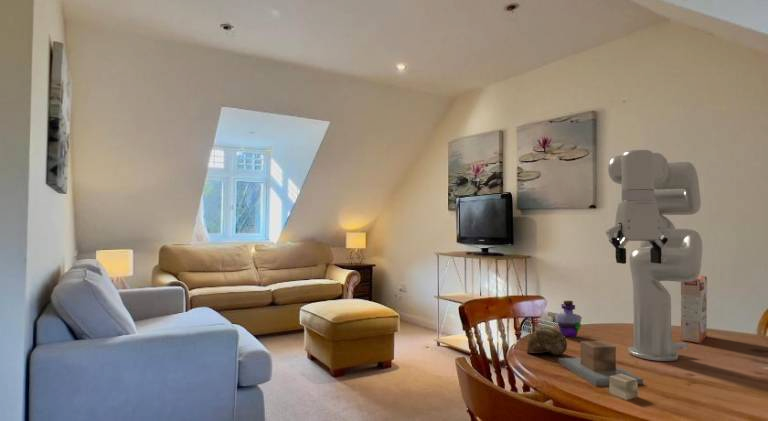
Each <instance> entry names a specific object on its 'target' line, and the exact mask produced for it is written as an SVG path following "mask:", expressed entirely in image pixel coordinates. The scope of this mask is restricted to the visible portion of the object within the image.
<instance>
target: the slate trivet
mask: <svg viewBox="0 0 768 421" xmlns="http://www.w3.org/2000/svg"><path fill="white" fill-rule="evenodd" d="M557 359H558V363H559V364H560V365H561V366H563V367H565V368H566V369H568V370H570V371H571V372H573V373H575V374H576V375H577V376H579V377H581V378H582V379H584V380H585V381H587V382H589V383H590V384H592V385H594V386H595V387H597V386H598V387H600V386H601V387H602V386H603V387H604V386H605V387H606V386H609V376H613V375H618V374H623V375H626V376H629V377H632V378H635V379H637V382H638V385H644V380H643V378H641V377H639V376H638V375H637V376H636V375H635V374H633V373H632V372H630V371H627V370H625V369H624V368H622V367H620V366H618V365H616V371H592V370H590V369H588V368H587V367H585V366H583V365H581V357H558V358H557Z"/></svg>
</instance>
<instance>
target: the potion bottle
mask: <svg viewBox="0 0 768 421" xmlns="http://www.w3.org/2000/svg"><path fill="white" fill-rule="evenodd" d="M561 309H562V310H563V312H560V313H556V314H555V320H556V324H557V325H558V331H559V332H561V333H562V334H563V335H564V336H565V338H566V337H576V336H577V337H578V333H579V330H580V329H581V326H582V325H581V324H582V323H581V322H582V318H583V317H582V316H581V315H579V314H577V313H575V312H574V310H576V305H575V304H574V301H572V300H563V302H562V304H561ZM577 337H576V338H577Z"/></svg>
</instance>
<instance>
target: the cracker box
mask: <svg viewBox="0 0 768 421" xmlns="http://www.w3.org/2000/svg"><path fill="white" fill-rule="evenodd" d="M707 280H708V277H707V276H705V275H699V277H698V278H697V279H696V280H695V281H693V282H680V341H683V342H684V341H685V342H689V343H696V344H701V343H702V342H703V341H704V339H706V337H707V335H708V334H707V333H708V332H707V331H708V329H707V326H708V323H707V322H708V321H707V319H708V313H707V312H708V311H707V309H708V308H707V307H708V303H707V302H708V301H707V299H708V293H707V292H708V291H707V290H708V281H707Z"/></svg>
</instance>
